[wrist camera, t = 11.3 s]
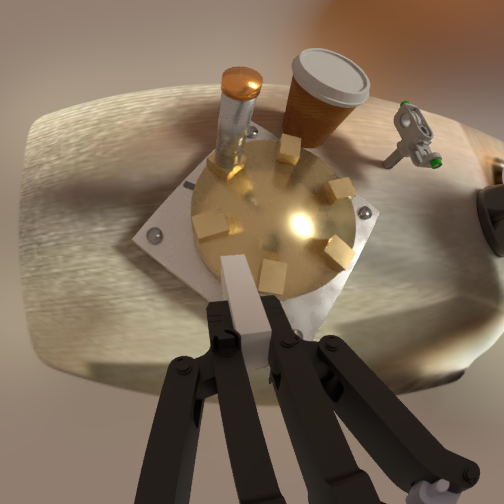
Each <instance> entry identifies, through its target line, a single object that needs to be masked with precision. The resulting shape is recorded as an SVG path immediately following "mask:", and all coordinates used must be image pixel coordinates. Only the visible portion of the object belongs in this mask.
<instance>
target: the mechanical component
mask: <svg viewBox="0 0 504 504" xmlns="http://www.w3.org/2000/svg"><path fill="white" fill-rule="evenodd" d="M421 123H422V124H421ZM394 125H395V127H396V129H397V130H398V132H399V134H400V136H401V138H402V140H401V141H400V142H398V143H397V149H396V150H395V151H394V152H393V153H392V154H391V155H390V156H389V157H388V158H387V159H386V160H385V161H384V162H383V165H384V167H385V168H390V167H391V168H393V167H394V166H395V165H396V164H397V163H398V162H399V161H400V160H401V159H402V158H403V157H411V160H412V162H413V164H414V165H415V166H417V167H427V168H432V169H436V168H439V167H440V166H441V165H442V162H441V160H442V158H441V155H440V154H439V153H436V152H434V153H432V152H431V150H430V148H429V146H428V145H429V144H430V143H432V142H431V139H432V138H433V132H432V130H431V129H430V127H429V126H428V124H427V122H426V120H425V119H424V117H423V115H422V113H421V112H420V110H419V108H418V107H417V106H415V105H411V104H410V103H409V101H404V102H402V103H401V104H400V108H399V110H398V112H397V113H396V114H395V116H394ZM424 151H426V153H427V154H426V153H425V152H424Z"/></svg>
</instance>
